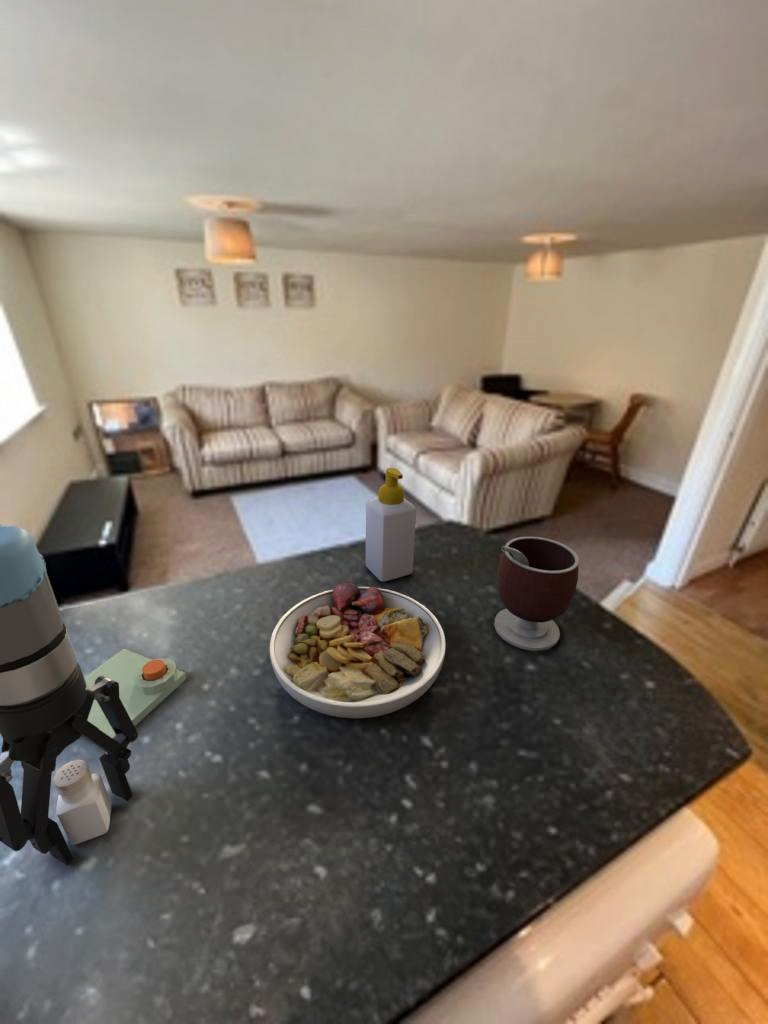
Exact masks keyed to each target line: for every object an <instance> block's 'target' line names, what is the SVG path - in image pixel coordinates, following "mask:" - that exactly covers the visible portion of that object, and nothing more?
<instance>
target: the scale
mask: <svg viewBox="0 0 768 1024" xmlns="http://www.w3.org/2000/svg"><path fill="white" fill-rule="evenodd" d="M156 659H157V658H155V659H154V660H156ZM158 659H159V660H162V661H164V663H165V667H166V673H165V675H164V676H163V677H162V678H160V679H158V680H155V681H147V680H145V678H144V675H143V671H142V669H143V666H144V665H145V664H146V663H148V662H149V661H152V660H153V659H152V658H149V657H147V656H144V655H141V654H139V653H137V652H134V651H131V650H129V649H127V648H122V649H121V650H120V651H118V652H116V653H115V654H114V655H113V656H111V657H109V659H107V660H106V661H105V662H103V663H102V664H100V665H98V667H96V668H95V669H94V670H91V672H90V673H88V674H87V675H85V676H84V679H85V682H86V684H87V688H89V687H91V686H93V685H95V680H96V679H97V678H98V677H99V676H104V677H106V678H109V679H111V680H114V681H116V682H118V683H119V698H120V700H121V701H122V703H123V705H124V707H125V709H126V711H127V713H128V715H129V717H130V719H131V721H132V723H133V724H134V726H135V727H136V726H137V725H138V724H139V723H140V722H141V721H142V720H143V719H145V718H146V717H147V716H148V715H149V714H150V713H151V712H152V711H153V710H154V709H156V707H158V706H159V705H160V704H161V703H162V702H163V701H164V700H165V699H166V698H167V697H168V696H170V695H171V694H172V693H173V692H174V691H175V690H176V689H177V688H178V687H180V686H181V684H183V683H184V682H185V681H186V680H187V675H186V672H184V671H183V670H179V669H178V668H177V666H176V662H175V661H174V660H173V659H169V658H167V657H164V658H158ZM87 721H89V722H90V723H92V724H93V725H95V726H96V727H97V728H99V730H101V731H102V732H104V733H105V734H107V735H108V736H110V737H111V738H113V739H114V738H115V736H116V734H115V732H114V731H113V729H112V727H111V725H110V724H109V722H108V720H107V718H106V716H105V715H104V713H103V711H102V709H101V708H100V706H99V704H98V702H97V701H96V700H94V701H93V704H92V708H91V711H90V714H89V717H88V720H87Z"/></svg>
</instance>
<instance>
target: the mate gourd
mask: <svg viewBox="0 0 768 1024" xmlns="http://www.w3.org/2000/svg"><path fill="white" fill-rule="evenodd" d="M501 551H502V553H501V556H500V560H499V562H498V567H497V568H498V569H497V573H496V574H497V575H496V586H497V593H498V597H499V599H500V601H501V602H502V604H503V605H504V607H505V608H503V609H502V610H500V611H499V612H498V613H497V614H496V616H495V617H494V623H493V624H494V629H495V632H496V633H497V635H498V636H499V637H500V638H501V639H502V640H503V641H505V642H506V643H508V644H510V645H512V646H514V647H517V648H519V649H522V650H526V651H534V652H536V651H537V652H540V651H547V650H549V649H551V648H553V647H554V646H556V645H557V643H558V642H559V640H560V636H561V632H560V629H559V626H558V624H557V623H556V622H555V621H554V619H556V618H558V617H560V616H562V615H563V614H565V612H566V611H567V610H568V608H569V606H570V605H571V603H572V601H573V598H574V597H575V593H576V589H577V585H578V581H579V563H580V559H579V556H578V554H577V553H576V552H575V551H574V550H573V549H571V548H570V546H568V545H566V544H563V543H562V542H560V541H557V540H553V539H550V538H545V537H540V536H519V537H514V538H512V539H510V540H509V541H507V542H506V543H505V544H504V545H503V546H502V547H501Z"/></svg>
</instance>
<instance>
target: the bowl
mask: <svg viewBox="0 0 768 1024" xmlns="http://www.w3.org/2000/svg"><path fill="white" fill-rule="evenodd" d="M269 640H270V641H269V657H270V663H271V666H272V670H273V672H274V675H275V677H276V679H277V680H278V683H279V684H280V685H281V686H282V688H283V689H284V690H285V692H287V693H288V694H289V695H290V696H291V697H292V698H293V699H294V700H296V701H297V702H299V704H302V705H303V706H305V707H307V708H309V709H310V710H312V711H315V712H318V713H320V714H324V715H327V716H331V717H336V718H342V719H368V718H375V717H381V716H385V715H388V714H391V713H394V712H396V711H398V710H399V711H400V710H401V709H404V708H405V707H407V706H408V705H411V704H412V703H415V701H417V700H418V699H419V698H420V697H422V696H423V695H425V693H426V692H427V691H428V690H429V689H430V688H431V687H432V685H433V684H434V683H435V681H436V680H437V679H438V677H439V674H440V672H441V670H442V667H443V664H444V661H445V655H446V637H445V633H444V630H443V628H442V625H441V624H440V622H439V620H438V618H437V617H436V616H435V615H434V614H433V613H432V612H431V611H430V610H429V609H428V608H427V607H426V606H425V605H423V604H422V603H420V602H419V601H417V600H416V599H414V598H412V597H410V596H408V595H405V594H403V593H400V592H397V591H394V590H391V589H386V588H381V587H376V586H358V585H357V584H356V583H353V582H351V581H343V582H340V583H337V585H335V587H334V588H333V589H329V590H326V591H322V592H319V593H317V594H313V595H311V596H309V597H307V598H305V599H303V600H301V601H300V602H298V603H296V604H295V605H294V606H293V607H291V608H289V610H288V611H287V612H286V613H285V614H284V615H283V616H282V617H281V618H280V619H279V620H278V622H277V623H276V625H275V627H274V629H273V631H272V634H271V637H270V639H269Z"/></svg>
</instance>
